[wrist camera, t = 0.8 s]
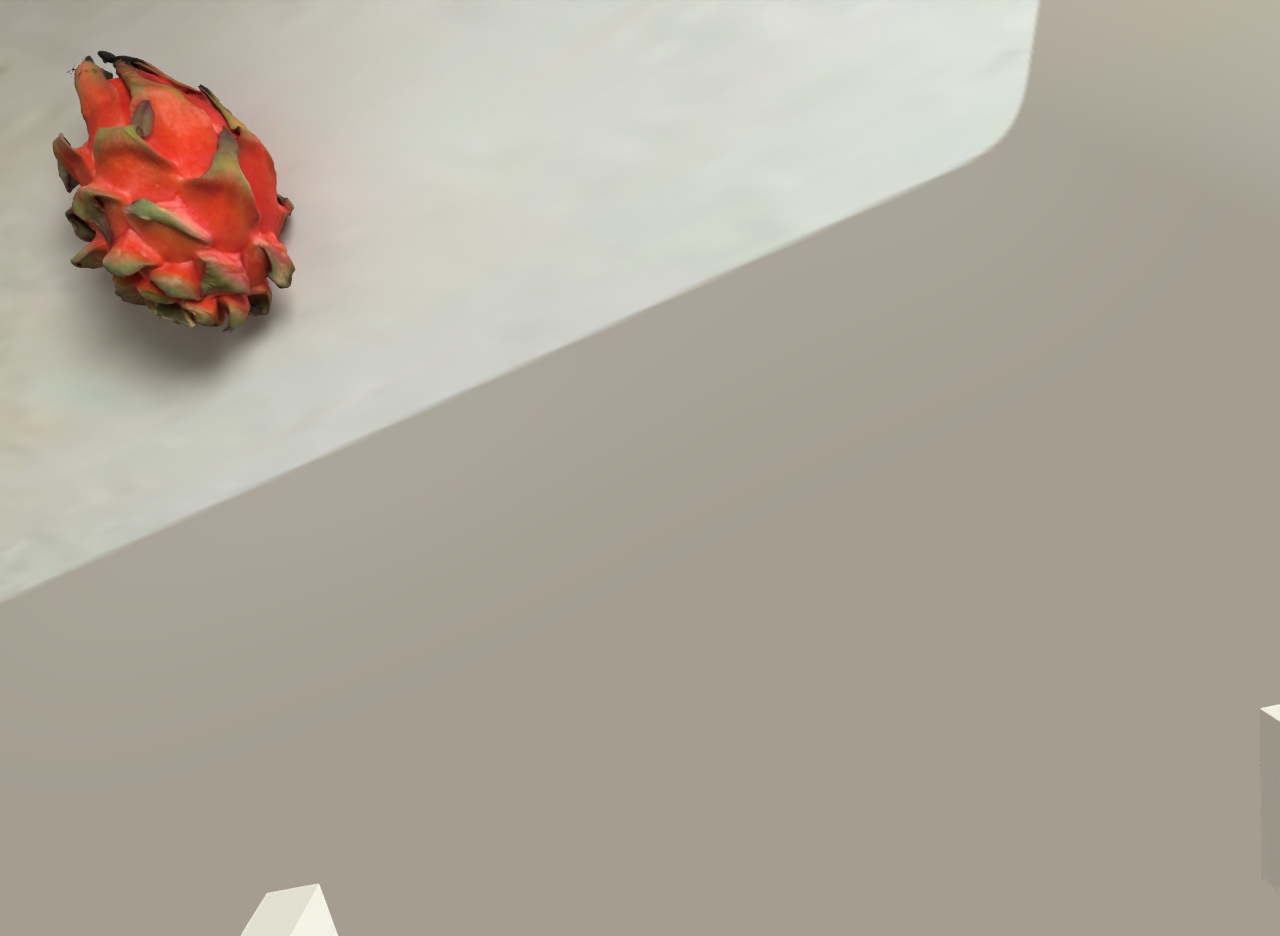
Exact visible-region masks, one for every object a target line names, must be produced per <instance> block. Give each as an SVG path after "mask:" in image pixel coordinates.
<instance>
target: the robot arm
mask: <svg viewBox="0 0 1280 936" xmlns="http://www.w3.org/2000/svg"><path fill="white" fill-rule="evenodd" d="M1260 761H1261V762H1260V767H1261V824H1262V825H1261V827H1262V878H1263V879H1264V880H1265V881H1266V882H1267V883H1268V884H1269V885H1270V886H1271V887H1272V888H1274V889H1275V890H1276V891H1277V892H1278V893H1279V894H1280V705H1275V706H1269V707H1264V708H1260ZM241 936H338V934H337V931H336V929H335V926H334V923H333V921H332V918H331V915H330V912H329V910H328V907H327V904H326V902H325V899H324V896H323V894H322V891H321V888H320V885H319V884H313V885H308V886H302V887H297V888H292V889H286V890H281V891H275V892H270V893H267V894H266V895H265V897H264V899H263V900H262V902H261V903H260V905H259V907H258V908H257V910H256V911H255V913H254V915H253V917H252V918H251V920H250V921H249V923H248V924H247V926H246V928H245V929H244V931H243V933H242V934H241Z"/></svg>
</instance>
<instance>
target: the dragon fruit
mask: <svg viewBox="0 0 1280 936" xmlns="http://www.w3.org/2000/svg"><path fill="white" fill-rule="evenodd" d="M98 55H99V56H100V57H101V58H102V60H103V62H104V63H107V62H109V63H113V66H114V68H116V74H117V75H118V76H119V78H115V79H112V78H113V74H112V73H110V72H107V71H105V70H104V69H102V68H100V67H99V66H97V65H95V64H94V62H93V59H92V58H91V56H87V57H85V58H86V59H85V60H84V61H83V62H82V63H81V64H80V65H79V66H78V67H77V69H74V68H73V69H72V70H75V88H76V91H77V93H78V96H79V99H80V104H81V112H82V115H83V118H84V120H85V122H86V124H87V130H88V134H89V141H87V142H86V143H85V144H84V145H83V146H82V147H80V148H77V149H74V148H72V147H71V145H70V143H69V142H68V141H67V140H66V138H65V137H64V136H63V134H62V133H60V134H59V136H58V138H56V139H55V140H54V141H53V152H54V155H55V157H56V159H57V160H58V170H59V176H60V178H61V179H62V181H63V183H64V185H65V188H66V190H67V192H69V193H70V192H71V191H72V190H73V189H74V188H75V187H76V186H77V185H79V184H80V185H81V187H80V188H79V189H78V191H77V192H76V193H75V196H74V198H73V203H72V207H70V209H69V210H67V212H66V217H67V219H68V221H69V222H70V223H71V224H72V226H73V228H74V232H75V234H76V235H77V236H78V237H79V238H80V239H82V240H84V241H87V242H91V243H89V244H88V245H87V246H86V247H85V248H84V249H82V250H81V251H80V252H79V253H78V254H77V255H76V256H75V257H74V258H73V259H71V263H72V264H73V265H74V266H76V267H80V268H92V269H96V268H99V267H104V268H105V269H106V270H107V271H109V272H110V273H112V274H114V276H113V281H114V282H115V288H116V290H115V293H116V295H118V296H120V297H121V298H122V300H123V301H125V302H129V303H132V304H138V305H147V306H148V308H149V309H150V310H152V311H153V312H154V314H155V315H157V316H161V317H160V318H165V319H169V320H173V322H175V323H177V324H185V325H186V326H188V327H194V326H196V325H197V323H199V324H201V325H204V326H211V327H212V326H215V327H216V326H221V325H222V324H223V323H224V320H225V313H227V314H229V324H228V327H227V328H225V329H224V330H223V332H225V331H227V330H230V329H231V331H232V330H233V329H235V328H236V327H237V326H238V325H240V324H241V323H243V322H244V321H245V319H246V318H247V315H254V316H257V315H267V314H268V313H269V310H270V305H271V300H272V293H271V290H270V287H269V285H268V281H267V279H266V277H269V278H270V279H271V280H272V281H273V282H274V283H275V284H276V285H277V286H278V287H279V288H288V287H289V286H291V281H292V274H293V272H294V271H295V267H294V265H293V263H292V261H291V259H290V257H289V256H288V255H287V250H286V248H285V246H284V244H282V243H280V242H279V241H278V238H279V235H280V232H281V230H282V227H283V224H284V221H285V219H286V218H287V216H288V215H289V216H290V215H291V212H292V210H293V209H294V206H293V204H292V203H291V202H290V200H289V199H288V198H283V197H282V196H280V195H279V194H277V192H276V183H277V182H276V172H275V169H274V162H273V160H272V158H271V156H270V154H269V152H268V151H267V149H266V148H265V147H264V145H263V144H262V143H261V141H260V140H259V139H258V138H257V137H256V136H255V135H254V134H252V133H251V132H250V131H249V130H248V129H247V128H246V127H245V126H244V125H243V124H242V123H241V122H240V121H238V120H237V119H236V118H235V117H234V116H233V115H232V114H231V112H230V111H229V110H227V109H226V108H225V107H224V106H223V105H222V104H221V103H220V102H219V100H218V98H217V97H216V96H215V95H214V94H213V93H212V92H211V91H210V90H209V89H208V88H206V87H204V86H202V85H200V86H198V87H199V88H200V90H201V91H198V90H196V89H194V88H192V87H190V86H187V85H185V84H182V83H180V82H178V81H176V80H174V79H173V78H171V77H169V76H167V75H166V74H164V73H163V72H162V71H160V70H159V69H158V68H156V67H155V66H153V65H151V64H149V63H147V62H146V61H144V60H140V59H138V58H132V57H128V56H117V57H116V56H115V55H113V54H112V53H109V52H105V51H99V52H98ZM83 59H84V58H83ZM74 66H75V65H74ZM72 72H73V71H72ZM67 73H69V71H68V72H67ZM90 227H91V228H90ZM92 228H93V229H94V230H95V231H94V230H93V229H92ZM249 303H250V304H249ZM250 305H251V307H250ZM160 318H159V319H160ZM196 322H197V323H196ZM230 333H231V332H230Z"/></svg>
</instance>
